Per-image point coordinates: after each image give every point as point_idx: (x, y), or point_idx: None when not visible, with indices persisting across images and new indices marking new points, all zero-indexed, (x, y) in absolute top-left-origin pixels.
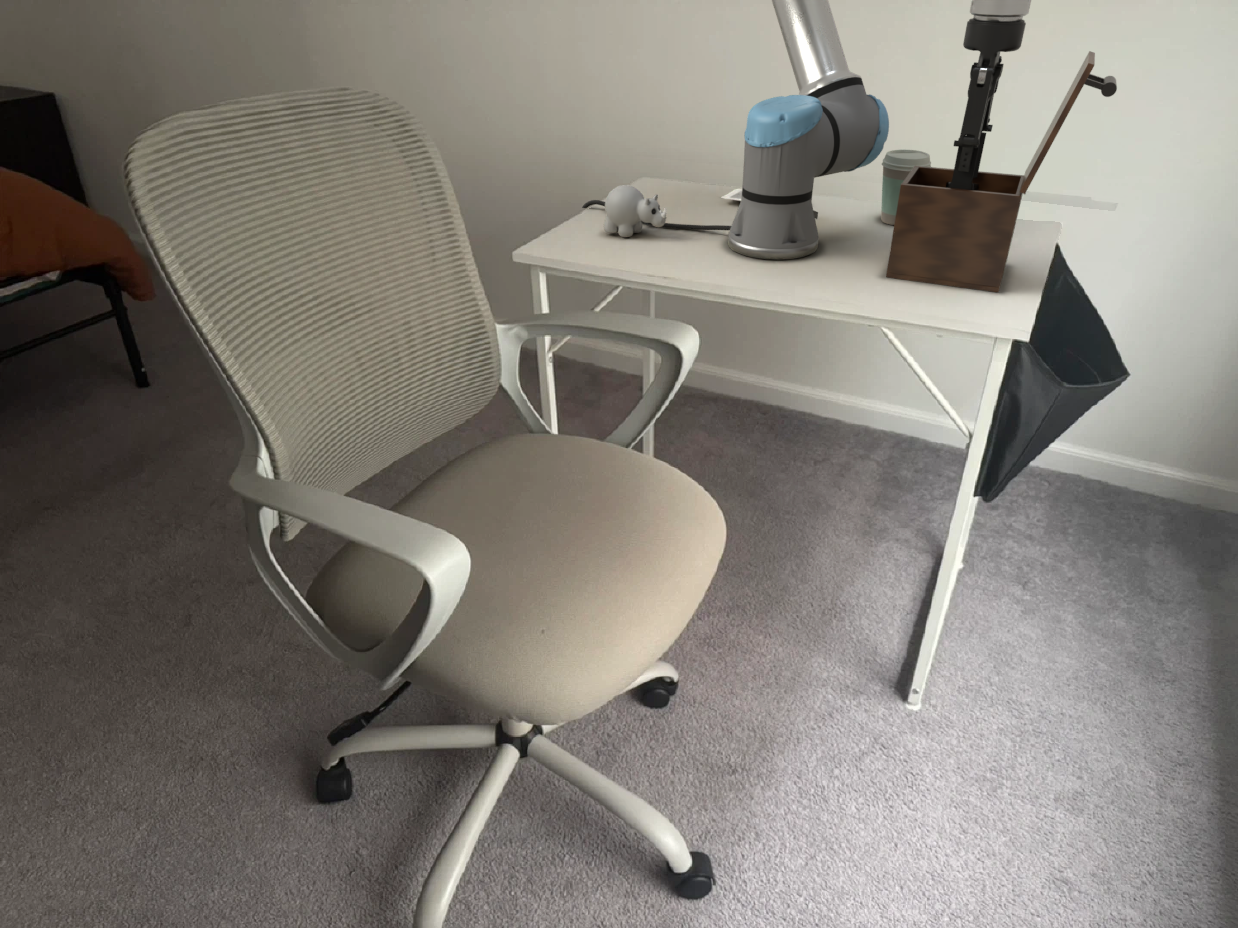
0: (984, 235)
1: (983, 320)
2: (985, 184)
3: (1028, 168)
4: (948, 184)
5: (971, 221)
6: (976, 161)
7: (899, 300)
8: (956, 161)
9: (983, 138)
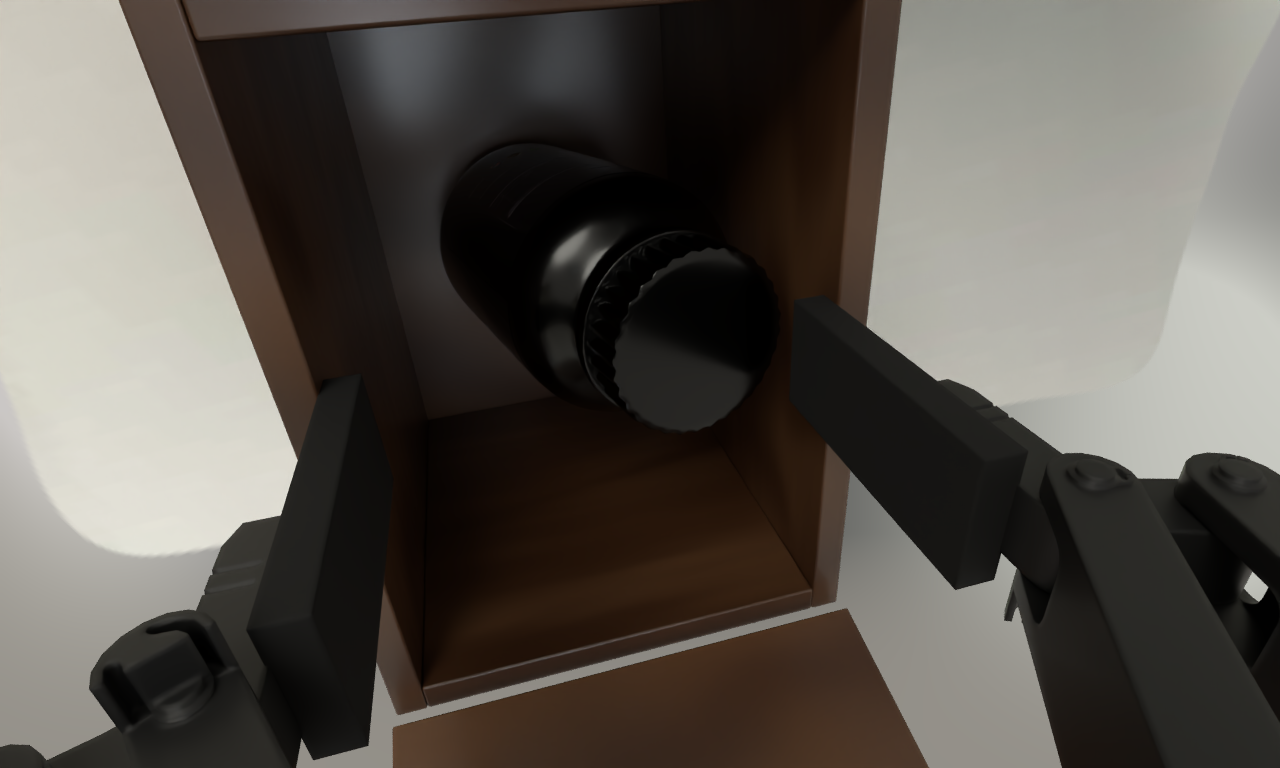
0: None
1: (104, 464)
2: (795, 420)
3: (725, 696)
4: (645, 274)
5: None
6: (838, 434)
7: (35, 145)
8: (278, 527)
9: (932, 550)
